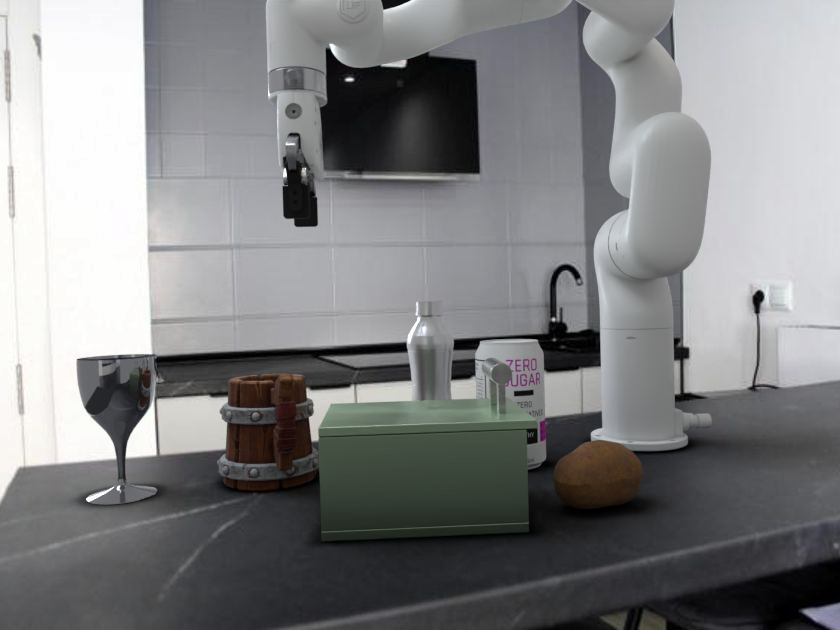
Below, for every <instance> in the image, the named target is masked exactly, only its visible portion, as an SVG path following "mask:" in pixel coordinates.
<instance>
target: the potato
mask: <svg viewBox="0 0 840 630" xmlns="http://www.w3.org/2000/svg"><path fill="white" fill-rule="evenodd" d="M643 477H644V469H643V465H642V462H641V460H640V459H639V458H638V456H637V455H636V454H635V452H634V451H631V450H629V449H628V448H626V447H625V446H624V445H622V444H620V443H616V442H611V441H606V440H594V441H591V440H590V441H586V442H584V443H581V444H580V445H579V446H577V447H576V448H575V449H574V450H572V451H571V452H569V453H568V454H566V455H564V456H562V457H561V458H560V459H559V460H558V461H557V462H556V464H555V466H554V471H553V483H554V484H553V485H554V490H555V493H556V495H557V497H558V498H559V499H560V500H561V501H562V502H563V504H565V505H567V506H569V507H571V508H575V509H577V510H594V509H600V508H607V507H611V506H613V507H615V506H622V505H625V504H626V503H629V502H630V501H632V500H633V499H635V497H636V496H637V494H638V493H639V491H640V489H641V485H642V482H643Z"/></svg>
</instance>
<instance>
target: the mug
mask: <svg viewBox="0 0 840 630" xmlns="http://www.w3.org/2000/svg"><path fill="white" fill-rule="evenodd" d="M307 393H308V392H307V381H306V376H305V375H303V374H299V373H262V374H261V375H260V376H259V375H258V374H249V375H242V376H236V377H233V378H229V380H228V381H227V402H225V403H224V404H223V405H221V407H220V409H219V414H220V415H221V420H222V421H224V422H225V423H226V435H225V436H226V437H225V440H226V442H225V453H224V454H223V455H222V456H221V457H220V458H219V459H218V460H217V462H216V465H217V467H218V473H219V474H220V476H221V477H223V478H222V482H223V483H224V485H225V486H226V487H227V488H230V489H233V490H235V489H237V490H238V491H248V492H252V491H253V492H266V491H277V490H280V487H282V488H283V489H285V490H286V489H290V488H295V487H298V486H301V485H305V484H308V483H310V482H311V481H312V480H314V479H315V478H316V476H317V469H319V449H318V450H317V449H316V448H315V447H313V441H312V433H311V426H310V425H311V424H310V418H311V417H312V416H313V415H314V414H315V409H314V406H315V404H314V402H313V399H312V398H309V397H308V395H307Z"/></svg>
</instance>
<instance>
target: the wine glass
mask: <svg viewBox="0 0 840 630" xmlns="http://www.w3.org/2000/svg"><path fill="white" fill-rule="evenodd" d="M75 364H76V381H77V387H78V392H79V396H80V399H81V403H82V406H83V408H84V411H85V412H86V414H87V415H88V416H89V417H90V418H91V419H92V420H93V421H94V422H95V423H96V424H97V425H98V426H99V427H100V428H101V429H102V430H104V432H105V433H106V434H107V435H108V437H109V438H110V440H111V441H112V444H113V448H114V452H115V459H116V465H117V482H116V484H115V485H114V486H112V487H110V488H105V489H102V490H99V491H96V492H93V493H91V494H90V495H88V496H87V497H86V499H85V501H86V502H87V503H89V504H92V505H103V506H105V505H106V506H107V505H109V506H110V505H121V504H127V503H133V502H138V501H142V500H145V499H148V498H150V497H153V496H155V495H156V494H157V493H158V489H157V488H156V487H154V486H151V485H139V484H137V485H136V484H131V483H129V482H128V481H127V476H126V475H127V474H126V458H127V448H128V443H129V440H130V437H131V435H132V433H133V431H134V430H135V428H137V426H138V425H139V424H140V423H141V421H142V419H143V418H144V417H145V416H146V415H147V413H148V412H149V410H150V409H151V407H152V405H153V402H154V399H155V394H156V393H155V392H156V389H157V388H156V387H157V378H158V377H157V375H158V373H157V372H158V369H157V368H158V365H157V354H153V353H151V354H150V353H133V354H132V353H131V354H130V353H129V354H128V353H127V354H126V353H125V354H110V355H109V354H107V355H96V356H88V357H87V356H86V357H80V358H76V363H75Z"/></svg>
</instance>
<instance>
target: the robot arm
mask: <svg viewBox="0 0 840 630" xmlns="http://www.w3.org/2000/svg"><path fill="white" fill-rule="evenodd" d="M574 1H575V2H577V3H578V4H580V5H582V6H583V7H585V8H586V9H588V10H590V13H589V14H588V16H587V18H586V20H585V21H584V25H583V29H582V43H583V46H584V49H585V51H586V53H587V55H588V56H589V58H590V59H591V60H592V61H593V62H594V63H595V64H596V65H598V66H599V67H600V68H601V69H602V70H603V71H604V72H605V73H606V74H607V75H608V77H609V78H610V81H611V82H612V85H613V87H614V91H615V108H614V109H615V111H614V123H613V131H612V139H611V140H612V141H611V150H610V155H609V157H610V158H609V164H608V165H609V166H608V172H609V173H608V174H609V180H610V183H611V184H612V186H613V189H614V190H615V191H616V192H617V193H618V194H619V195H621V196H622V197H624V198H626V199H629V201H628V202H629V203H628V209H624V210H621V211H620V212H618V213H616V214H614V215H612V216H610V217H609V218H608V219H607V220H606V221H605V222H604V223H603V224H602V225H601V227H600V228H599V230H598V231H597V234H596V236H595V240H594V244H593V264H594V270H595V271H594V272H595V276H596V284H597V289H598V291H597V292H598V302H599V342H600V345H599V346H600V385H601V386H600V388H601V392H600V393H601V428H595V429H594V430H592V431H591V432H590V441H594V440H606V441H611V442H616V443H620V444H622V445H624V446H625V447H626V448H628V449H629V450H631V451H633V452H665V451H672V450H679V449H682V448H684V447H686V446H687V445H688V444H689V436H688V435H687V433H685V432H687V431H689V430H690V429H692V428H693V429H694V428H695V429H711V427H712V425H713V418H712V416H711V414H710V413H695V414H693V413H692V412H685V411H684V412H683V410H681V409H679V408H676V399H675V398H676V397H675V396H676V395H675V394H676V393H675V389H676V388H675V345H674V343H675V341H674V339H675V337H674V327H675V326H674V325H675V323H674V305H673V299H672V292H671V288H670V284H669V279H668V278H669V277H672V276H676V275H678V274H680V273H682V272H684V271H685V270H687V268H689V267H690V266H691V265H692V264H693V262H694V261H695V259H696V258H697V256H698V254H699V252H700V249H701V247H702V242H703V237H704V234H705V233H704V232H705V225H706V215H707V209H708V198H709V187H710V179H711V169H712V168H711V167H712V151H711V145H710V142H709V138H708V136H707V133H706V131H705V130H704V128H703V126H702V125H701V124H700V123H699V122H698V121H697V120H696V119H694V118H693V117H691V116H690V115H689V114H686V113H683V112H682V100H683V85H682V77H681V73H680V70H679V67H678V65H677V63H676V61H675V60H674V59H673V58H672V56H671V54H670V53H669V52H668V51H667V50H666V48H665V47H664V46H663V45H662V44H661V43H660V42H659V41H658V39H656V37H657V36H659V34H661V32H662V31H663V30H664V29H665V28H666V27H667V25H668V24H669V22H670V20H671V19H672V17H673V15H674V9H675V0H574ZM572 2H573V0H409V1H407V2H404V3H402V4H400V5H397V6H394V7H389V8H386V9H384V6H383V2H382V0H266V2H265V27H266V28H265V31H266V56H267V57H266V59H267V90H268V91H267V93H268V97H267V98H268V104H270V105H272V106H274V107H276V121H277V123H276V124H277V125H276V127H277V151H278V152H277V153H278V164H279V168H280V171H281V172H282V174H283V175H282V183H283V185H282V187H281V188H282V215H283V218H284V219H286V220H293V225H294V226H295V228H316V227H318V225H319V214H318V213H319V211H318V196H317V190H316V181H315V179H317V180H318V181H319V182H323V181H324V179H325V167H324V149H323V147H324V146H323V130H322V118H321V117H322V116H321V108H322V107H324V106H326V105H327V104H328V89H327V87H328V85H327V54H326V51H327V50H326V48H327V46H328V45H329V49H330V51H331V53H332V55H333V56H334V57H335V58H336V59H337V61H339V62H340V63H341V64H343V65H345V66H347V67H351V68H357V69H358V68H359V69H364V68H372V67H378V66H382V65H388V64H393V63H396V62H402V61H407V60H408V59H412V58H415V57H418V56H421V55H423V54H425V53H428V52H431V51H433V50H435V49H437V48H440V47H442V46H445V45H448V44H450V43H452V42H455V41H456V40H458V39H460V38H462V37H465V36H468V35H472V34H477V33H481V32H486V31H490V30H495V29H500V28H505V27H510V26H515V25H520V24H525V23H530V22H533V21H534V22H535V21H540V20H544V19H548V18H552V17H554V16H557V15H558V14H560V13H561V12H563V11H564V10H566V9H567V7H569V6H570V4H571V3H572Z"/></svg>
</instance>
